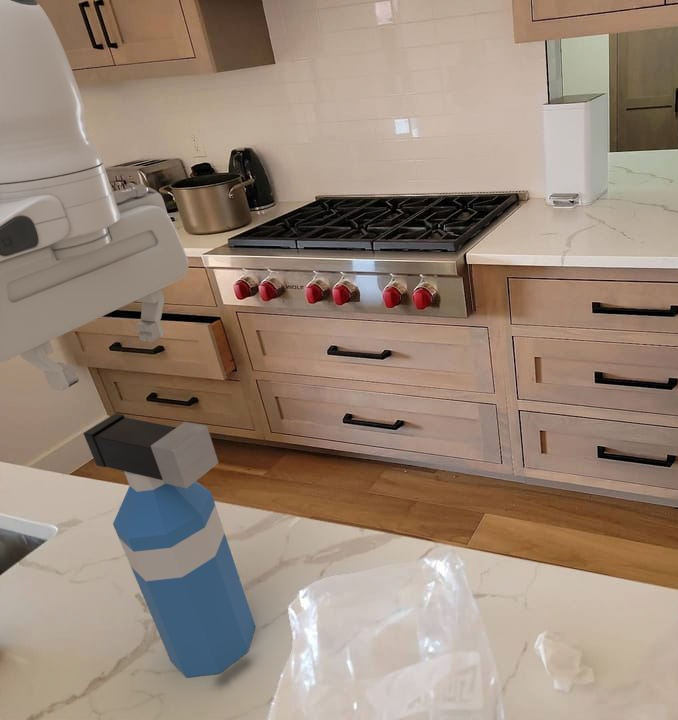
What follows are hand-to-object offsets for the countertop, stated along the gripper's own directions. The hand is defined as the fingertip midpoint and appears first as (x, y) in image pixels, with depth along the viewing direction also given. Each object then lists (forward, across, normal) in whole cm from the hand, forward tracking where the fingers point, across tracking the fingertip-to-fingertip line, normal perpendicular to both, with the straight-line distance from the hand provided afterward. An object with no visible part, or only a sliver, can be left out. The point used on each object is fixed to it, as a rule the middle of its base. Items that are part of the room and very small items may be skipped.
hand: (111, 361), depth 61 cm
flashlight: (+11, 0, +1) cm, 11 cm away
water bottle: (+36, 0, 0) cm, 36 cm away
